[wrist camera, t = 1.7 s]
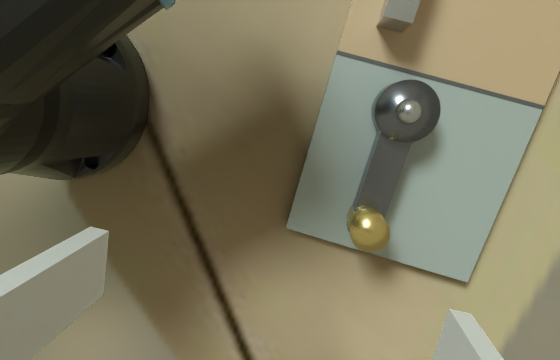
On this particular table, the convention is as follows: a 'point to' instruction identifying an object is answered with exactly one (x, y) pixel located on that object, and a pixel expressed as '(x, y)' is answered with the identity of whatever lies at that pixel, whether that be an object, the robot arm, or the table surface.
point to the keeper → (397, 14)
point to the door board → (447, 133)
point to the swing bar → (389, 156)
